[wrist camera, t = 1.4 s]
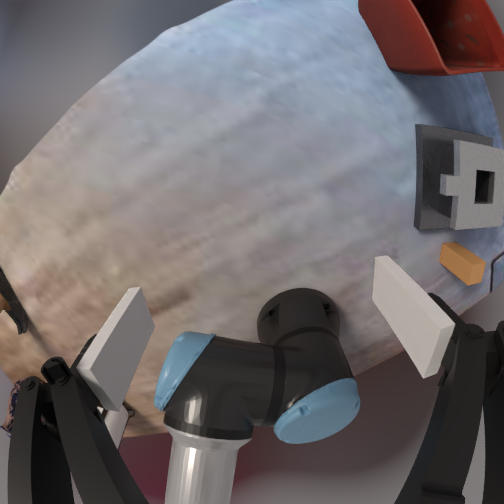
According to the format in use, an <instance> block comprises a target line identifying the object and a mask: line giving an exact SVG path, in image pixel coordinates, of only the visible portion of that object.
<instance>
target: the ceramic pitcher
mask: <svg viewBox="0 0 504 504" xmlns="http://www.w3.org/2000/svg"><path fill="white" fill-rule="evenodd" d="M28 377H29V376H26V377H23V378H21V379H19V380H18V381H16V383H15V384H14V386H13V388H12V390H11V393H10V398H9V403H8V409H7V416H6V420H5V423H4V424H3V425H2V426H0V428H1V429H2V430H3V431H4V432H5V433H6V434H7V435H8V436H9V437H10V438H11V431H12V424H13V418H14V412H15V407H16V402H17V397H18V393H19V388H20V385H21V383H22V382H23V381H24V380H25V379H26V378H28ZM40 382H41V383H42V384H43V382H42V381H41V380H40ZM41 419H42V418H41ZM42 423H43V419H42Z"/></svg>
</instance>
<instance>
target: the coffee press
mask: <svg viewBox="0 0 504 504" xmlns="http://www.w3.org/2000/svg"><path fill="white" fill-rule="evenodd" d="M97 408H98V409H99V411H100V412H101V414H102V417H103V419H104V421H105V424H106V426H107V428H108V431H109V433H110V435H111V437H112V439H113V441H114V443H115V445H116V447H117V450H119V448H118V447H119V446H120V445H119V444H120V443H121V442H120V441H122V439H121V438H122V437H123V434H124V431H125V429H124V428H126V426H125V425H127V423H126V422H128V421H127V419H128V420H129V418H131V417H133V416H134V415H135V411H134V410H130V411H127V410H126V408H125V407H124V406H123V405H122V406H121V409H120V411H119V412H117V411H110V410H106V409H105V408H104V407H103V405H102V404H101V403H99V405H98V407H97ZM130 412H132V413H134V414H133V415H131V416H129V418H128V413H130ZM70 472H71V470H70Z"/></svg>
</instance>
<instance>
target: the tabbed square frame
mask: <svg viewBox="0 0 504 504" xmlns="http://www.w3.org/2000/svg"><path fill="white" fill-rule="evenodd" d="M415 128H416V153H417V178H416V204H415V218H414V227H416V228H417V229H419V230H423V229H436V228H449V227H451V228H452V229H454V230H461V229H473V228H485V227H497V226H502V219H503V212H504V150H503V149H499V148H495V147H492V138H489V137H485V136H481V135H477V134H472V133H468V132H463V131H458V130H453V129H448V128H442V127H436V126H429V125H423V124H415Z"/></svg>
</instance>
